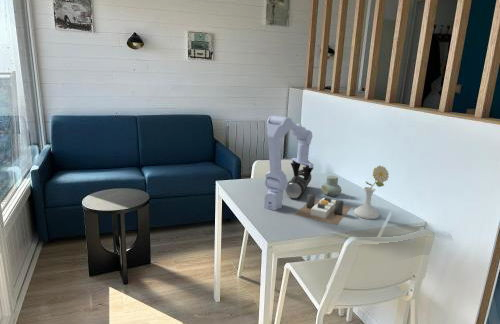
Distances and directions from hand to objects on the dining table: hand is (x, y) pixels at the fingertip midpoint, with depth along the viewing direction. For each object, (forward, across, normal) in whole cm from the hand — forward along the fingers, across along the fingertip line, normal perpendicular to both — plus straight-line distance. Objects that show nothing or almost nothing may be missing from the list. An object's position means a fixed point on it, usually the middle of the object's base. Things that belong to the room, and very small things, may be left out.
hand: (300, 177), depth 190 cm
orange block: (+6, -23, +5) cm, 24 cm away
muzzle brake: (+10, +5, -2) cm, 12 cm away
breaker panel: (+10, -23, +5) cm, 25 cm away
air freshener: (+10, -6, -18) cm, 21 cm away
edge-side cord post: (+9, -29, +2) cm, 30 cm away
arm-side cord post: (+9, -17, +8) cm, 21 cm away
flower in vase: (+10, -37, -10) cm, 39 cm away
